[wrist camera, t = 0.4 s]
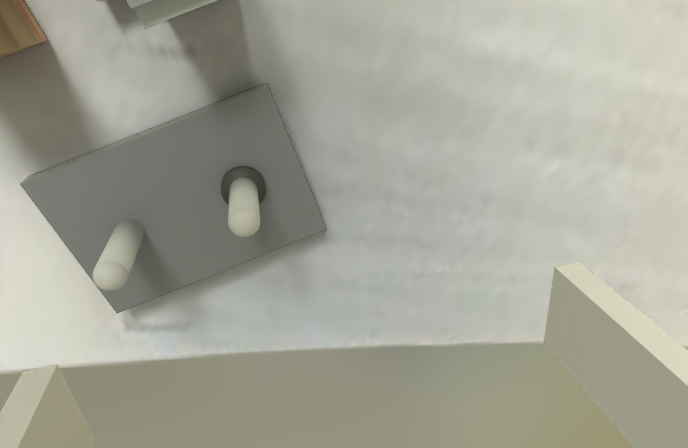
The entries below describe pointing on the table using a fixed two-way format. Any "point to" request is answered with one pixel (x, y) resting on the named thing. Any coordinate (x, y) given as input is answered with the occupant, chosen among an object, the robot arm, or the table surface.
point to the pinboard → (180, 199)
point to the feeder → (163, 9)
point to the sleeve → (17, 28)
